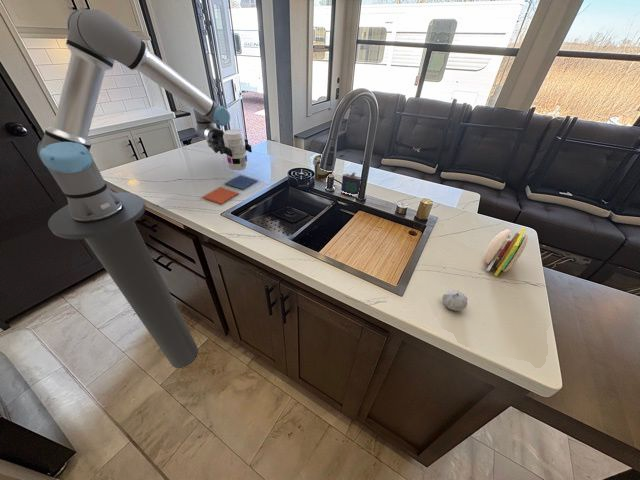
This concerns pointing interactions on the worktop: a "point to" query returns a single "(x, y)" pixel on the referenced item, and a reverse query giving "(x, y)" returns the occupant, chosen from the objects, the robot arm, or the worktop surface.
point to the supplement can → (236, 149)
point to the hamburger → (505, 250)
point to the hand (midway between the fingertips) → (241, 151)
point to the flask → (350, 184)
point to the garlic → (455, 300)
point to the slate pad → (241, 182)
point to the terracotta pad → (220, 195)
